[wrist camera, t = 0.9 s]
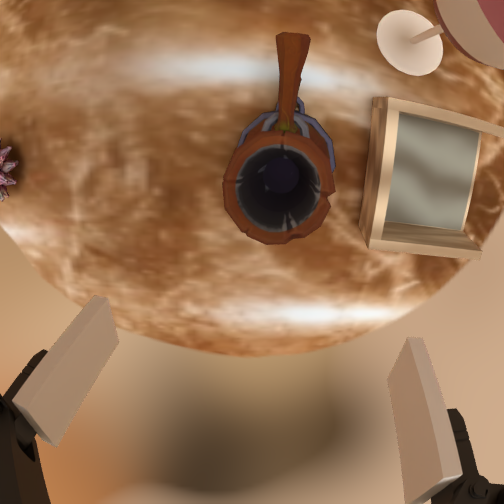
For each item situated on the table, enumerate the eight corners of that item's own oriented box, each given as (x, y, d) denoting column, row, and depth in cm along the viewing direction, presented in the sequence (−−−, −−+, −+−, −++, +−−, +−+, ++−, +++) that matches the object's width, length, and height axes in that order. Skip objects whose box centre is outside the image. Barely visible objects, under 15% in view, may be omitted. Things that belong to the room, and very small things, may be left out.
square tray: (372, 97, 31) (388, 97, 25) (479, 122, 30) (508, 129, 24) (358, 225, 39) (368, 249, 33) (458, 237, 37) (479, 260, 31)
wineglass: (371, 71, 30) (468, 38, 10) (375, -3, 25) (453, -96, 5) (441, 89, 29) (577, 100, 9) (445, 18, 25) (565, -28, 4)
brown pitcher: (246, 51, 31) (212, 22, 18) (347, 64, 30) (377, 41, 17) (234, 196, 39) (199, 250, 26) (326, 209, 38) (339, 270, 25)
